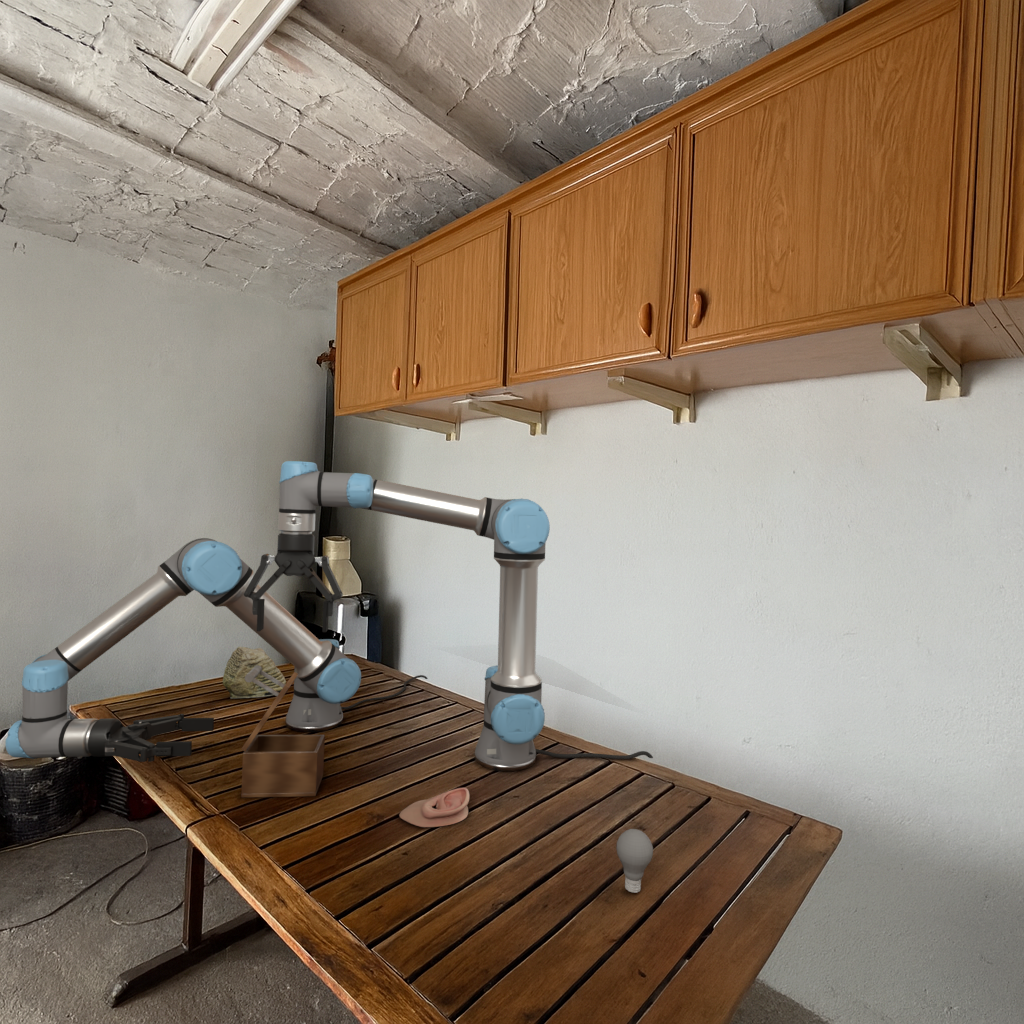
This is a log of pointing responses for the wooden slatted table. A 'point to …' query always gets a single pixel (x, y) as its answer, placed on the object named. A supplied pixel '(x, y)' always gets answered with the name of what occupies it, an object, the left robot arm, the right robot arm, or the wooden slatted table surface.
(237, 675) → the fossil
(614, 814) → the wooden slatted table surface
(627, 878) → the light bulb
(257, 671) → the lid
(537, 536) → the right robot arm
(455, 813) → the anatomical model
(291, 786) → the chest
